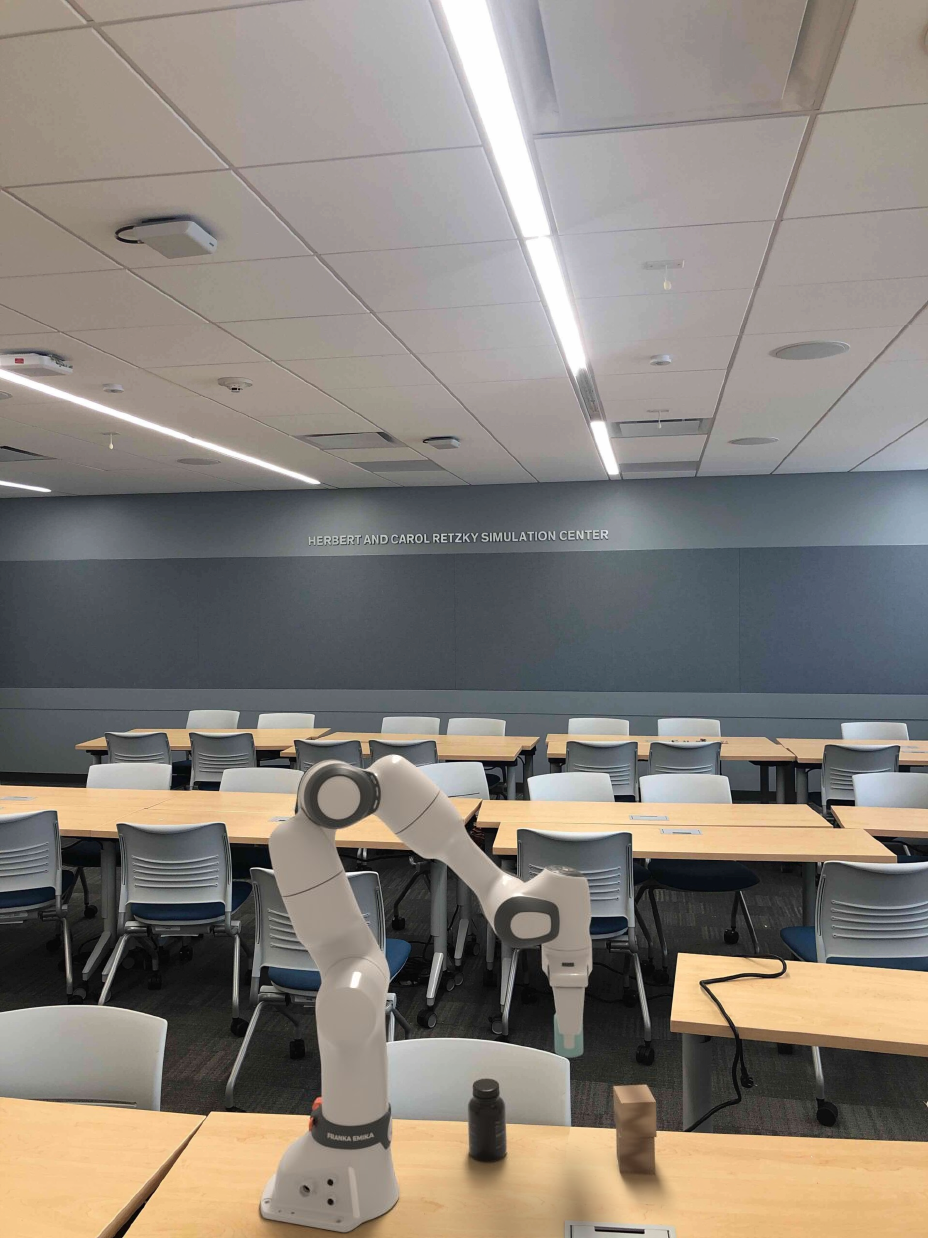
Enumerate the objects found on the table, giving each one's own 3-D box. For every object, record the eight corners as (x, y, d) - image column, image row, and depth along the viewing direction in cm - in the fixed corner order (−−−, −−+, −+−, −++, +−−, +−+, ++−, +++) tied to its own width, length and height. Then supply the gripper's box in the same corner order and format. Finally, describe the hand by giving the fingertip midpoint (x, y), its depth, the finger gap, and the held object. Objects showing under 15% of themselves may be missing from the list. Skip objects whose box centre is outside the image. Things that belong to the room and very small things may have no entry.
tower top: (622, 1139, 152) (621, 1103, 152) (614, 1120, 158) (613, 1086, 158) (656, 1137, 153) (655, 1101, 153) (647, 1119, 159) (646, 1084, 159)
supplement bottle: (498, 1139, 164) (497, 1073, 164) (512, 1159, 157) (511, 1090, 158) (463, 1146, 161) (462, 1079, 162) (475, 1167, 155) (474, 1096, 155)
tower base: (619, 1173, 152) (619, 1137, 153) (616, 1153, 158) (616, 1119, 159) (655, 1174, 152) (654, 1139, 152) (650, 1154, 158) (650, 1120, 158)
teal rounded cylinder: (555, 1057, 155) (554, 1022, 155) (554, 1044, 160) (553, 1010, 160) (583, 1058, 154) (583, 1022, 154) (582, 1045, 159) (581, 1011, 159)
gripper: (548, 940, 168) (549, 1014, 168) (549, 980, 148) (551, 1065, 147) (581, 940, 167) (583, 1015, 167) (588, 981, 147) (589, 1066, 147)
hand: (568, 1039), depth 157 cm, fingers closed on teal rounded cylinder, 5 cm apart
